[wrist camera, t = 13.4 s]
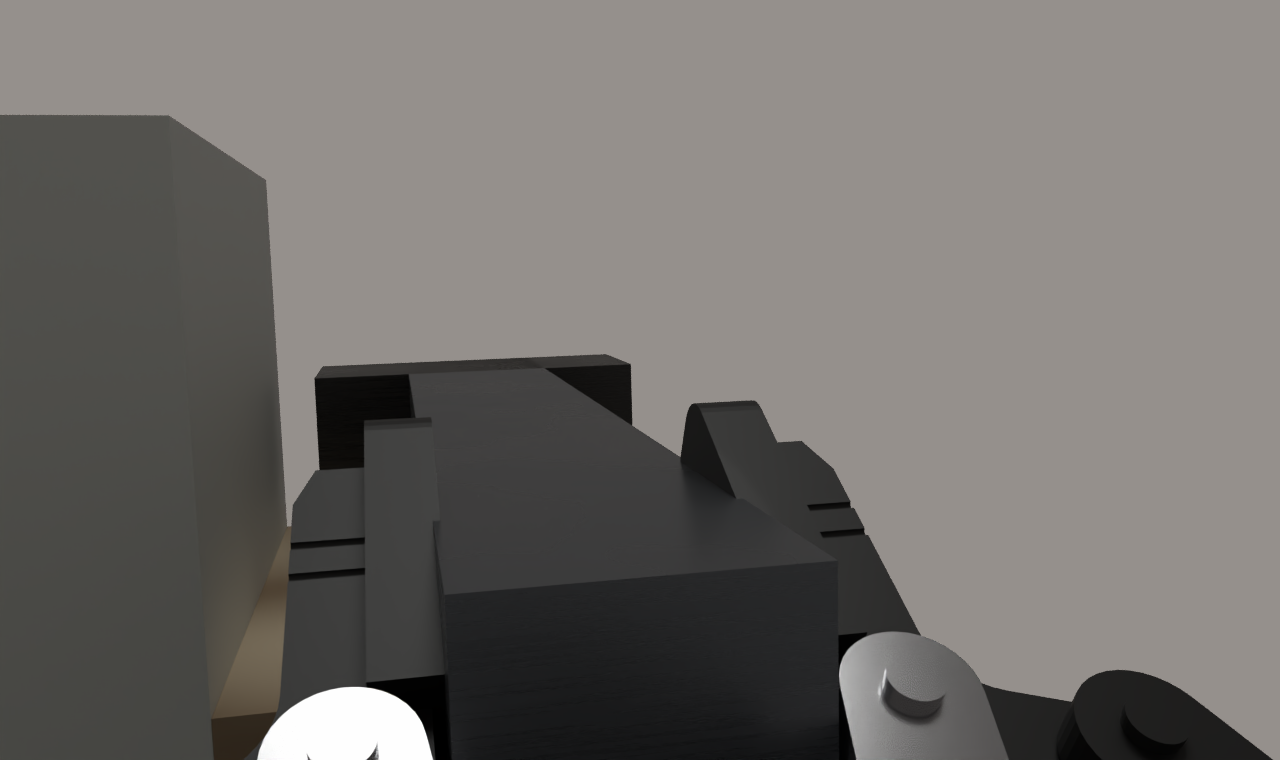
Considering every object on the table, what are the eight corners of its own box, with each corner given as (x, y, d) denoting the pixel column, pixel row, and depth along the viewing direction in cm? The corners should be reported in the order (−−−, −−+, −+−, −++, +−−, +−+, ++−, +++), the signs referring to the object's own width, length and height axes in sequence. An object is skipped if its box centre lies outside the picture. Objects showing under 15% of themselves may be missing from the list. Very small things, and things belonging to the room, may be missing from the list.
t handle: (329, 487, 27) (322, 366, 27) (609, 469, 29) (606, 354, 28) (175, 1032, 8) (144, 620, 8) (1062, 889, 9) (1068, 540, 9)
